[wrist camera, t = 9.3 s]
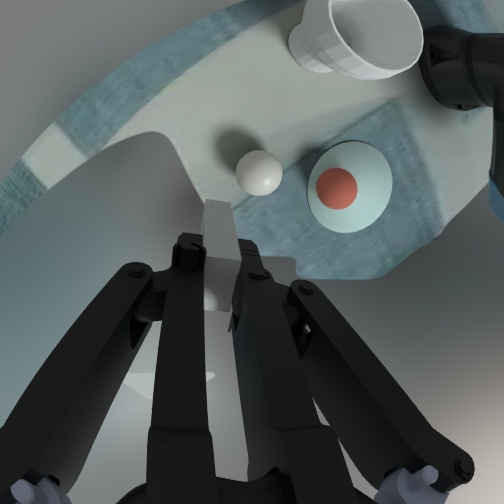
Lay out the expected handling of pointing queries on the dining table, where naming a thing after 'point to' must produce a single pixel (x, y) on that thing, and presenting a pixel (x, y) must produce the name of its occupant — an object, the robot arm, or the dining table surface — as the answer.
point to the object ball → (336, 188)
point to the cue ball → (258, 172)
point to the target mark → (368, 182)
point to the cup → (357, 37)
